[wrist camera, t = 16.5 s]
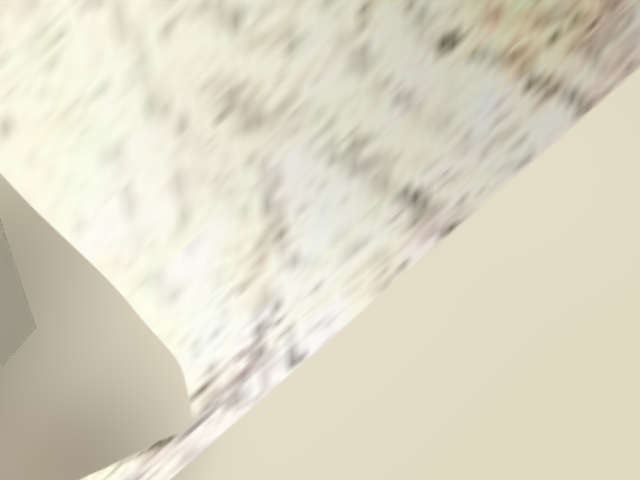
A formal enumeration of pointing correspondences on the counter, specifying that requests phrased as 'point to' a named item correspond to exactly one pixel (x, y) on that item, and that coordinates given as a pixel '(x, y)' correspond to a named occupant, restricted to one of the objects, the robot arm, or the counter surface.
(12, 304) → the robot arm
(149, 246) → the counter surface
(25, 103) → the counter surface
